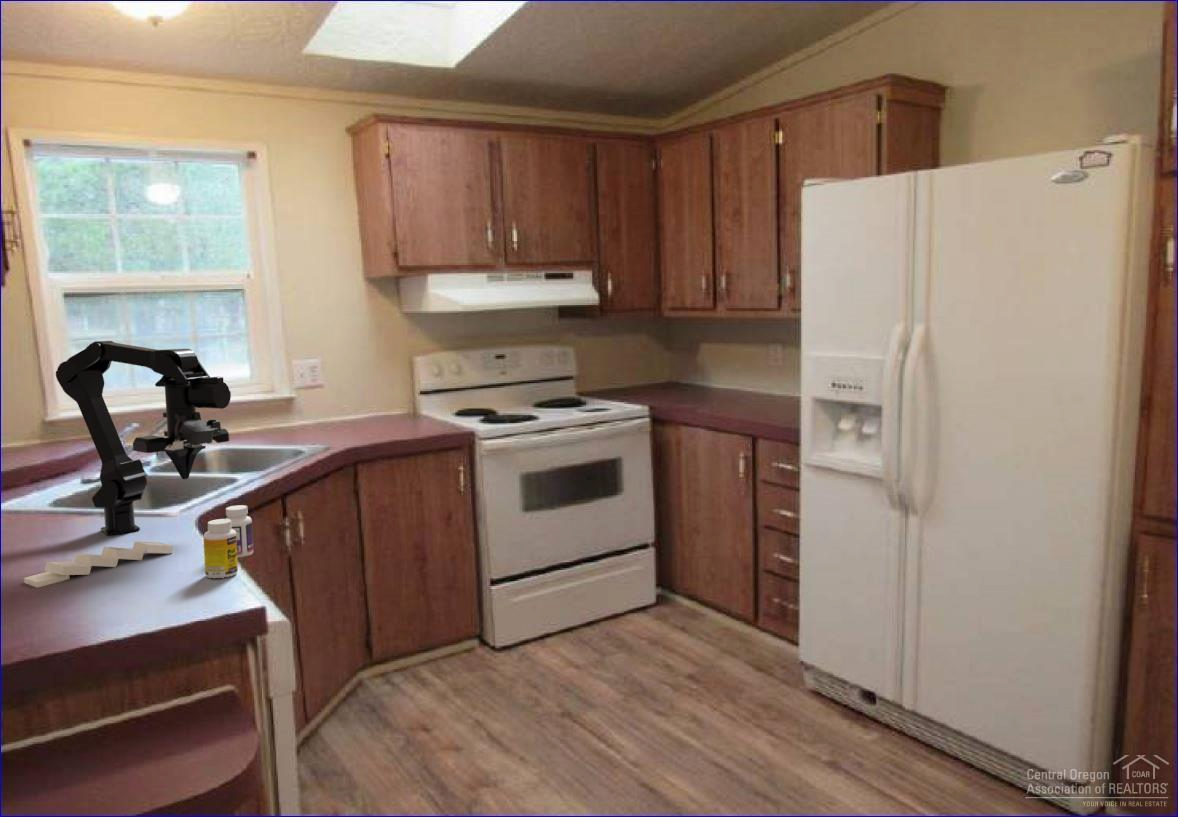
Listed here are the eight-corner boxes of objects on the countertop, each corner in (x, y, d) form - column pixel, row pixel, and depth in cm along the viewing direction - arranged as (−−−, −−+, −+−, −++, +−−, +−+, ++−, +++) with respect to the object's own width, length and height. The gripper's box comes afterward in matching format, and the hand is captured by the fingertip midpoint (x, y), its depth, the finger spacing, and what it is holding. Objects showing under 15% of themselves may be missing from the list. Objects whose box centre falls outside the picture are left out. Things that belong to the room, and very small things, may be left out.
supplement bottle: (231, 579, 148) (228, 525, 146) (200, 580, 147) (197, 525, 146) (242, 570, 153) (240, 517, 152) (212, 570, 153) (210, 517, 152)
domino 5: (171, 553, 163) (146, 552, 159) (157, 550, 166) (132, 549, 161) (173, 545, 164) (148, 544, 159) (159, 542, 166) (134, 541, 161)
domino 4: (141, 560, 159) (115, 558, 155) (128, 556, 161) (101, 554, 157) (143, 552, 159) (117, 550, 155) (130, 548, 162) (103, 546, 157)
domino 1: (69, 582, 148) (37, 591, 143) (56, 578, 150) (24, 586, 146) (69, 574, 148) (36, 582, 143) (56, 569, 150) (24, 577, 145)
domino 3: (116, 567, 155) (88, 565, 150) (102, 563, 157) (74, 561, 152) (118, 558, 155) (90, 556, 151) (104, 555, 157) (76, 553, 153)
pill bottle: (245, 549, 167) (242, 502, 165) (258, 554, 163) (256, 506, 162) (219, 555, 162) (216, 507, 161) (232, 560, 159) (230, 512, 158)
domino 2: (89, 574, 150) (61, 574, 145) (72, 570, 152) (44, 570, 147) (91, 565, 150) (63, 566, 145) (74, 562, 152) (46, 561, 147)
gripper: (159, 414, 161) (164, 491, 163) (243, 405, 177) (246, 475, 179) (129, 411, 167) (134, 485, 169) (212, 402, 183) (216, 470, 185)
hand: (185, 478), depth 175 cm, fingers closed
